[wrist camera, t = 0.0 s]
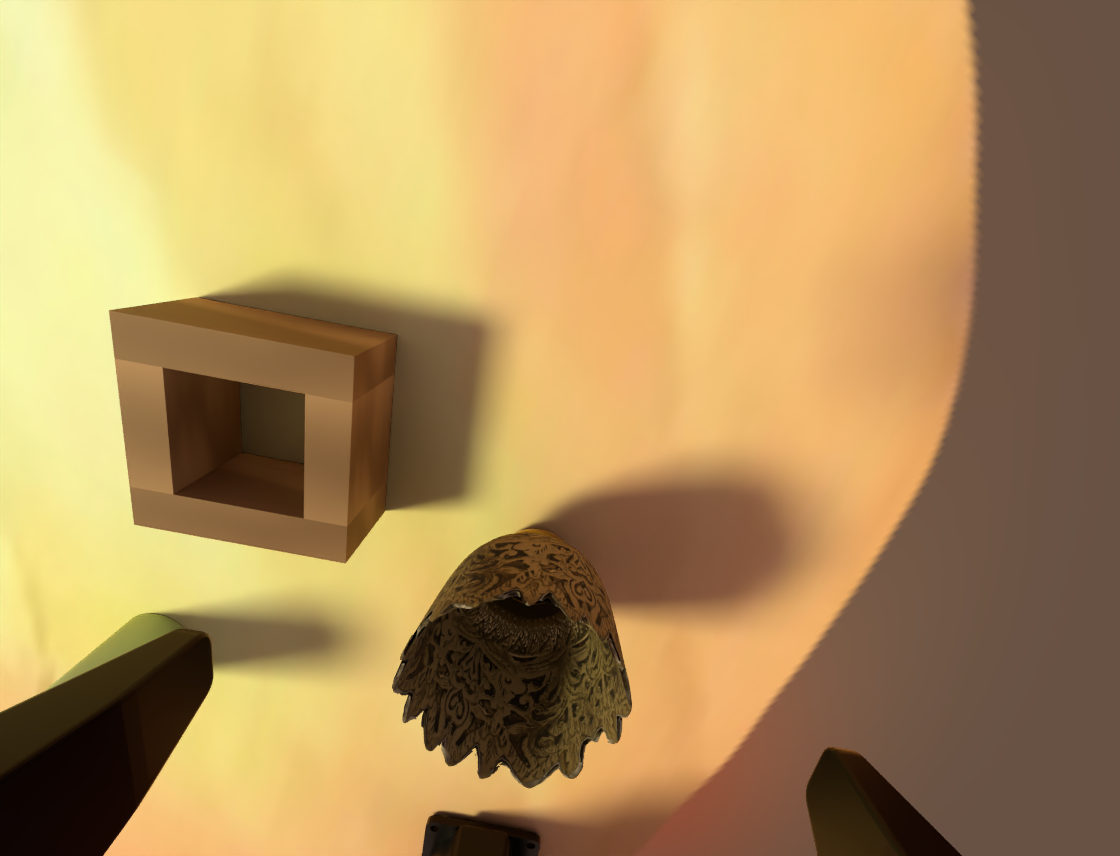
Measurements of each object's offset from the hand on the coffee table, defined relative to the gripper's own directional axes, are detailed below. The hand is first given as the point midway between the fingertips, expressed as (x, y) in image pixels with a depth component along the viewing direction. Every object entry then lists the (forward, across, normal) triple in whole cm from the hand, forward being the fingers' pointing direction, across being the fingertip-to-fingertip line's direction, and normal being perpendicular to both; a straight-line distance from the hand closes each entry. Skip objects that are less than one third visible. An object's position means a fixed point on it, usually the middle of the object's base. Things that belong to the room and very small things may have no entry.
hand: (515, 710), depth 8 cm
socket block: (+15, +11, +2) cm, 19 cm away
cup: (+15, 0, +7) cm, 17 cm away
